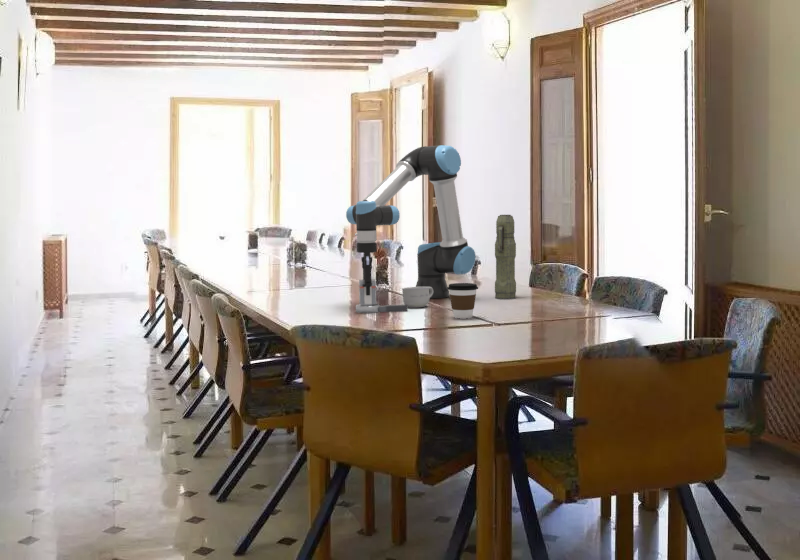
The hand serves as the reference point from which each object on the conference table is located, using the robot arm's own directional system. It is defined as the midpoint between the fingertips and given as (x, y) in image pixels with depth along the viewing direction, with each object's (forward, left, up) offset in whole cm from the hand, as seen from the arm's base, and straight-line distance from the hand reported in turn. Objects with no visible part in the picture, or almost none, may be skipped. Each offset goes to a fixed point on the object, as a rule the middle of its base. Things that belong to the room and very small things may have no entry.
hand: (367, 302), depth 358 cm
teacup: (-21, -11, -4) cm, 24 cm away
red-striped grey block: (0, 0, 0) cm, 0 cm away
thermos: (-60, -34, -4) cm, 69 cm away
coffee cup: (-33, +23, -4) cm, 40 cm away
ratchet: (-5, 0, -3) cm, 6 cm away
